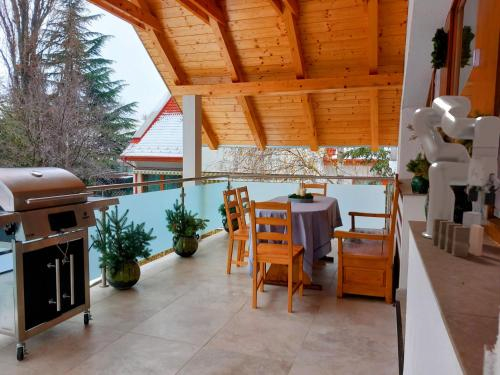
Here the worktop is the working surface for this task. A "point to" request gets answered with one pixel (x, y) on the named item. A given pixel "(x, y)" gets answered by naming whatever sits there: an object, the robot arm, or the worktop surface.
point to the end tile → (476, 240)
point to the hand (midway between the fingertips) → (480, 203)
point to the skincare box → (471, 220)
